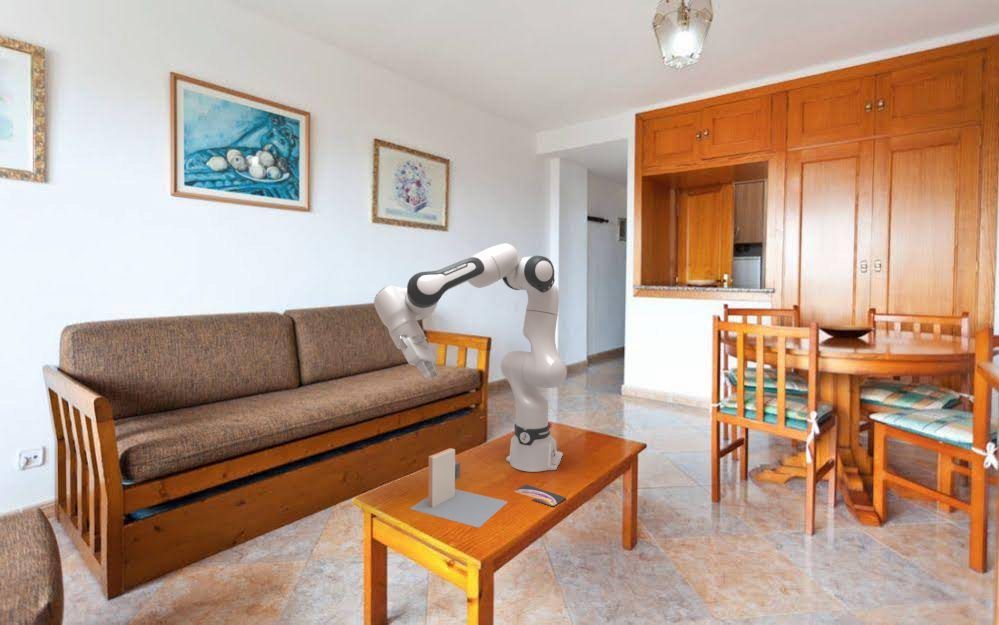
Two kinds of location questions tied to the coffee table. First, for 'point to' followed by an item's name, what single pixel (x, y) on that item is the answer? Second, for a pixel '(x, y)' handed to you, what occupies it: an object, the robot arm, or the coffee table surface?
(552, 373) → the robot arm
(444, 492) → the tile
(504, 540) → the coffee table surface
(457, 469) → the dice cube
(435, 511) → the mat
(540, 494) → the smartphone
